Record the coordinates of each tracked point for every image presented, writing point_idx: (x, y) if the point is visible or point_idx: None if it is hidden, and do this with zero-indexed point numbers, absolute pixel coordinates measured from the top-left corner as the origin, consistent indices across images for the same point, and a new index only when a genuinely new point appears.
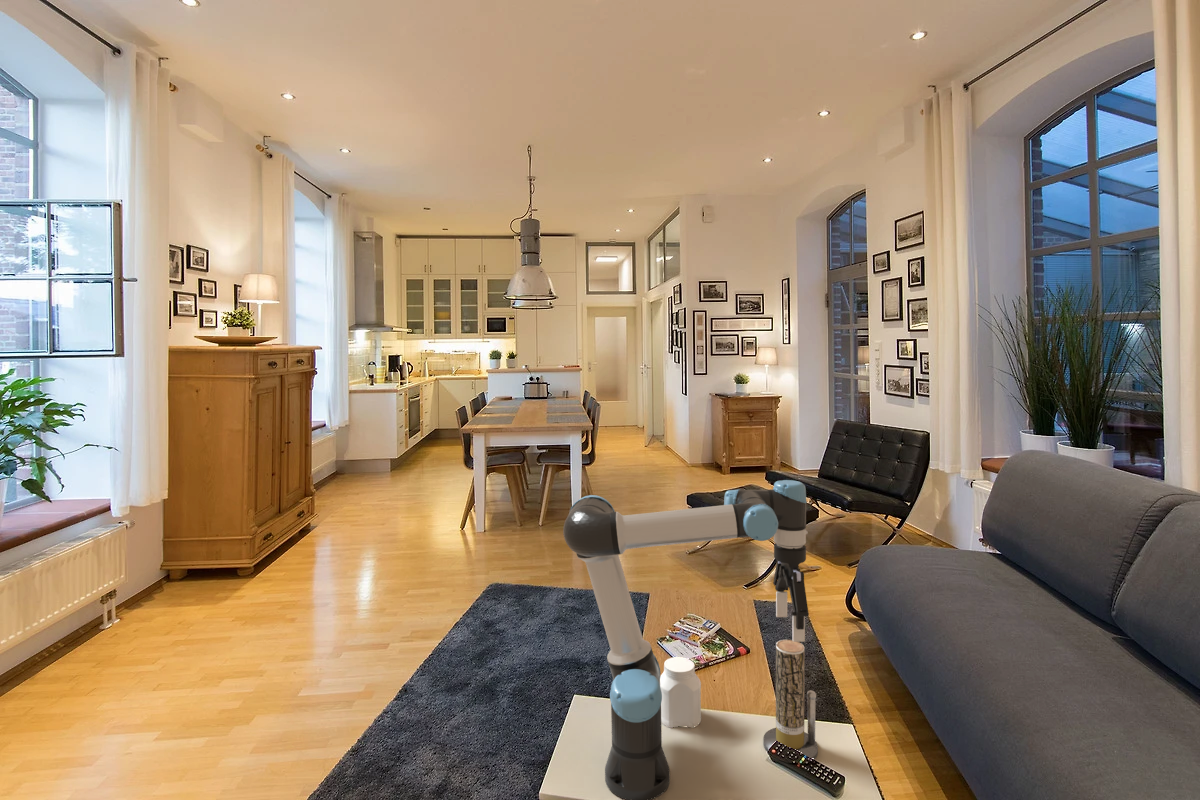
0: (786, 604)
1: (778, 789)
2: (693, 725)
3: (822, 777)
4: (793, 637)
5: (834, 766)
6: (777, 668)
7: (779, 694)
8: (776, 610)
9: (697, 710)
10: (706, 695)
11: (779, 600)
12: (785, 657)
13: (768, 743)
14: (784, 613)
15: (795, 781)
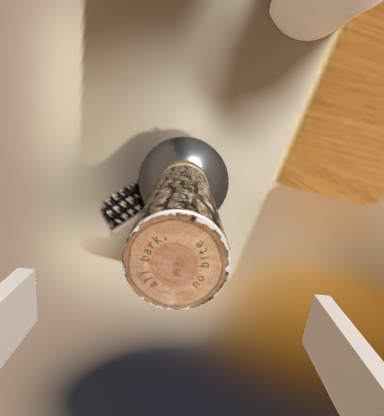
0: (335, 400)
1: (83, 119)
2: (270, 10)
3: (107, 200)
4: (4, 279)
5: (131, 228)
6: (174, 190)
7: (169, 178)
8: (339, 317)
9: (286, 13)
10: (372, 78)
11: (366, 388)
12: (138, 221)
13: (185, 144)
14: (313, 343)
15: (100, 155)
